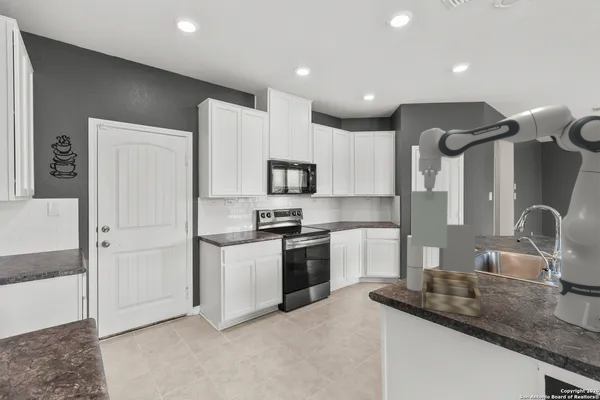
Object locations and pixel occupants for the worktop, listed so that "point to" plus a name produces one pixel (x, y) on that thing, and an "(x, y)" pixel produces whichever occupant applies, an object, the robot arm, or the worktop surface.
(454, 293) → the offcut boards
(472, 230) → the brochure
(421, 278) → the cylindrical container
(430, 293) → the box
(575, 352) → the worktop surface
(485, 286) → the worktop surface
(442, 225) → the grey green flat block
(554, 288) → the worktop surface
